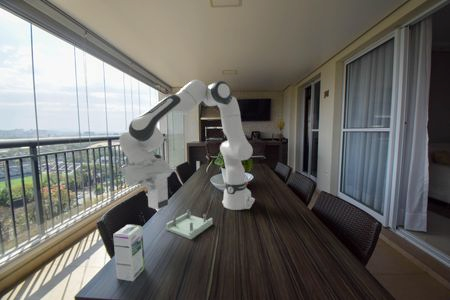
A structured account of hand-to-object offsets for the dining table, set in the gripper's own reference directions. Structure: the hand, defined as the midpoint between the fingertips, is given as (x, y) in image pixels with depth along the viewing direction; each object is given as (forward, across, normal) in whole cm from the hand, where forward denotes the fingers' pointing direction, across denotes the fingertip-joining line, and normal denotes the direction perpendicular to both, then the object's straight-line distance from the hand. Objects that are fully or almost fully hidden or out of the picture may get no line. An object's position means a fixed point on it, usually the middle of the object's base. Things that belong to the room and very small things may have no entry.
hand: (158, 187), depth 75 cm
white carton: (+5, 0, +6) cm, 8 cm away
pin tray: (+18, +13, +12) cm, 25 cm away
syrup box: (+21, -18, +9) cm, 29 cm away
